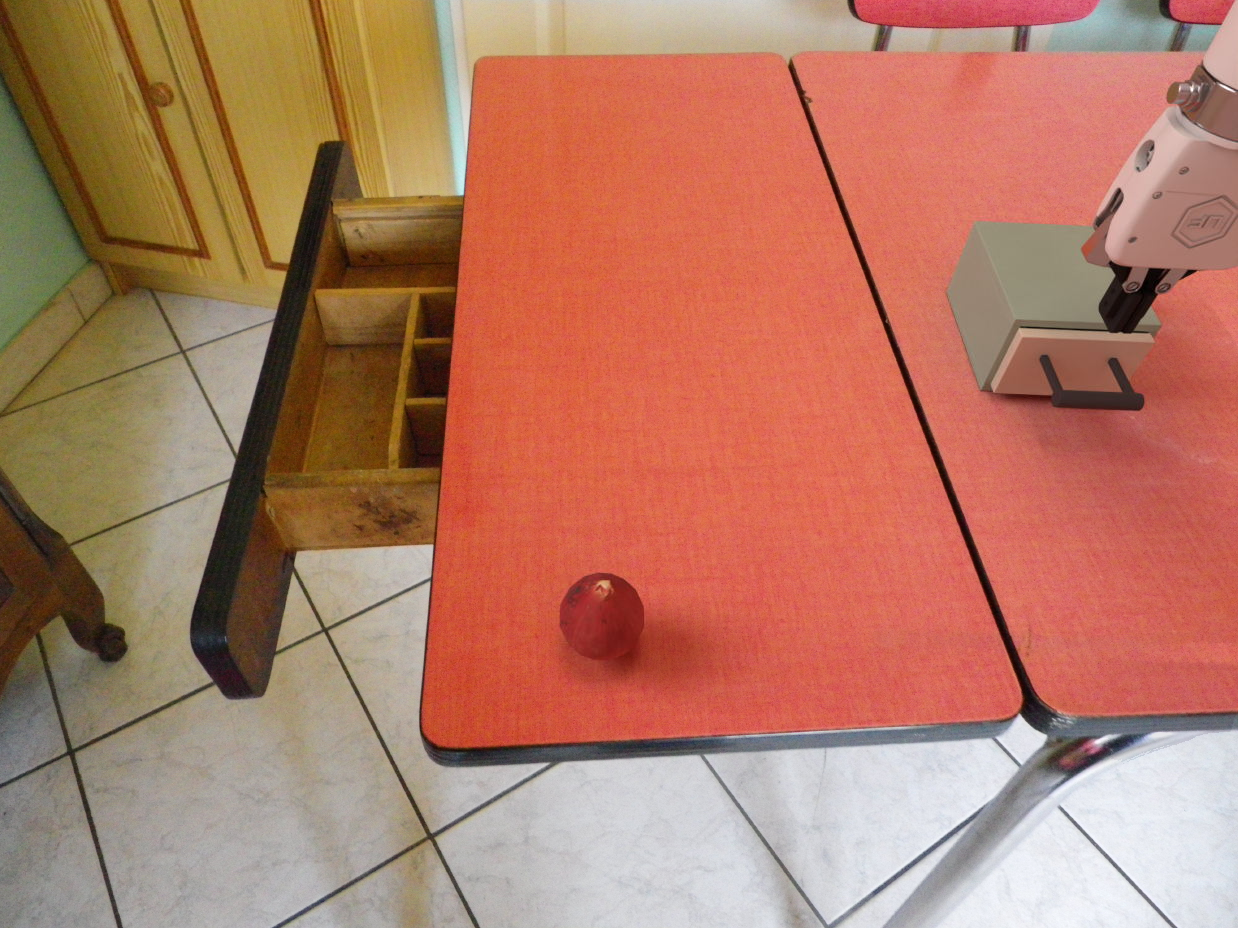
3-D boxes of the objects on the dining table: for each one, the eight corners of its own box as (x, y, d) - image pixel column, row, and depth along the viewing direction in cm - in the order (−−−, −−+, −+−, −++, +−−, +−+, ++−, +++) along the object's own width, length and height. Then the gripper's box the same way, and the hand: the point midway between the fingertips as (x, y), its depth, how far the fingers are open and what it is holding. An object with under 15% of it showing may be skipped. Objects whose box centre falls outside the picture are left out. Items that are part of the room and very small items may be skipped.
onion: (547, 661, 60) (542, 602, 54) (580, 596, 63) (580, 534, 57) (623, 692, 59) (627, 635, 52) (653, 624, 62) (660, 563, 56)
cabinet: (1115, 396, 79) (1162, 325, 72) (980, 390, 79) (1015, 319, 72) (1066, 297, 88) (1104, 226, 82) (945, 292, 88) (974, 220, 82)
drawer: (1141, 446, 74) (1183, 390, 69) (1010, 441, 74) (1042, 384, 69) (1071, 304, 86) (1102, 248, 81) (959, 299, 86) (983, 243, 81)
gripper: (1154, 128, 52) (1034, 350, 66) (1396, 139, 52) (1225, 358, 67) (1113, 71, 57) (1009, 289, 71) (1334, 81, 57) (1187, 296, 71)
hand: (1113, 322), depth 69 cm, fingers closed
